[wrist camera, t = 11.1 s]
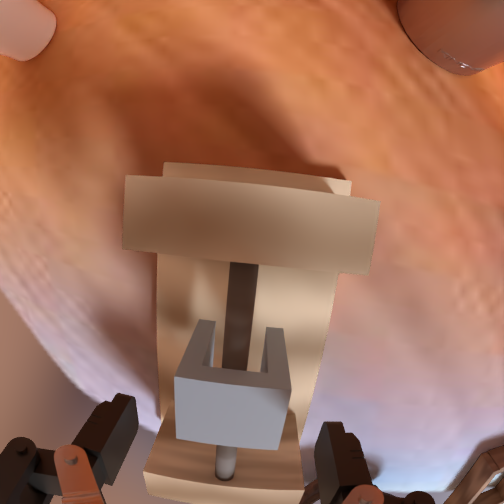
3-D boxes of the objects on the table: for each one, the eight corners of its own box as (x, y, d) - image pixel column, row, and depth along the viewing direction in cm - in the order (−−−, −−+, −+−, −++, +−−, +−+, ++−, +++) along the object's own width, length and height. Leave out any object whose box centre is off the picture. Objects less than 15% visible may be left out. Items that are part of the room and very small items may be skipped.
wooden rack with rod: (168, 162, 20) (106, 149, 11) (347, 181, 20) (405, 180, 11) (164, 423, 25) (136, 497, 16) (297, 438, 25) (306, 517, 16)
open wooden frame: (482, 452, 26) (494, 471, 22) (538, 431, 26) (550, 444, 22) (436, 511, 29) (443, 528, 25) (496, 489, 29) (504, 503, 25)
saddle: (199, 318, 18) (174, 376, 12) (283, 328, 18) (291, 389, 12) (197, 373, 19) (176, 438, 13) (273, 382, 19) (277, 450, 13)
